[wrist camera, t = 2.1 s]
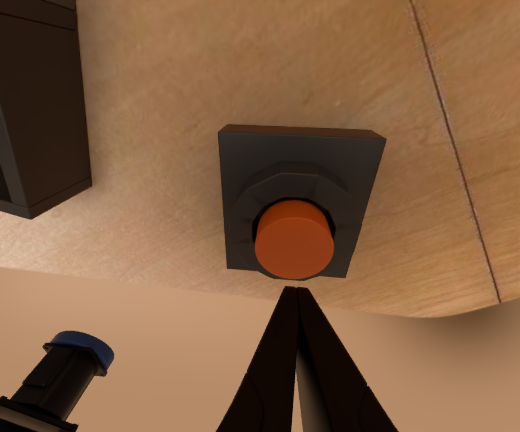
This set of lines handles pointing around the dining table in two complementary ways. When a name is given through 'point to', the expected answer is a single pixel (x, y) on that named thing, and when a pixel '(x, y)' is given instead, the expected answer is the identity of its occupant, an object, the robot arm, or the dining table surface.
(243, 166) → the console
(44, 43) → the dark open box frame
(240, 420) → the robot arm
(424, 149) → the dining table surface
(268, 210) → the stop button
